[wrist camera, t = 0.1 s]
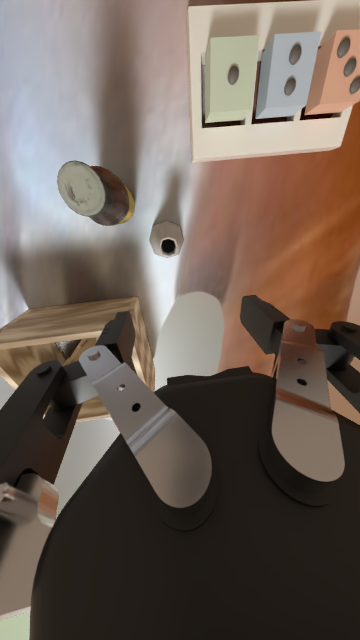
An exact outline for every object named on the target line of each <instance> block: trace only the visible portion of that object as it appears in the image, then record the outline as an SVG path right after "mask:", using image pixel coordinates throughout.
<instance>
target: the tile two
mask: <svg viewBox="0 0 360 640" xmlns="http://www.w3.org/2000/svg"><path fill="white" fill-rule="evenodd" d="M320 36H321V32H304V33H286V34H274V36H273V38H272V39H271V41H270V42H269V44H268V46H267V47H266V49H265V50H264V52H263V54H262V59H261V69H260V79H259V88H258V98H257V108H256V118H255V119H261V118H274V117H286V116H293V115H294V114H295V113H297V112H298V111H299V110H301V109H302V108H303V107H305V106H306V104H307V100H308V95H309V90H310V85H311V80H312V75H313V70H314V65H315V60H316V55H317V51H318V46H319V41H320Z"/></svg>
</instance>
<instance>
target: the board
mask: <svg viewBox="0 0 360 640" xmlns="http://www.w3.org/2000/svg"><path fill="white" fill-rule="evenodd" d="M356 29H360V0H310V1H290V2H269V3H249V4H228V5H208V6H188V12H187V20H186V33H187V59H188V86H189V112H190V138H191V163H194V162H205V161H217V160H228V159H239V158H250V157H262V156H273V155H284V154H295V153H306V152H318V151H329V150H333V149H335V148H338V147H340V146H341V143H342V140H343V136H344V133H345V130H346V126H347V123H348V120H349V116H350V113H351V110H352V106H353V105H352V106H350V107H348V108H347V109H345V110H343V111H341V112H337V113H333V114H332V118H325V119H313V120H300V116H301V110H302V109H301V110H299V111H298V112H297V113H295V114H294V115H293V116H287V121H286V122H276V123H263V124H251V122H252V111H253V104H252V110H251V111H250V112H249V113H248V115H247V116H246V117H245V118H244V119H243V120H241V124H240V125H238V126H226V127H213V128H202V107H201V65H205V56H206V52H207V49H208V45H209V42H210V38H216V37H234V36H251V35H259V39H258V50H257V60H256V69H257V61H261V59H262V54H263V52H264V50H265V49H266V47H267V46H268V44H269V42H270V41H271V39H272V38H273V36H274V34H286V33H304V32H321V36H320V41H319V46H318V50H319V49H320V48H321V47H322V46H323V45H324V44H325V43H326V41H327V40H328V39H329V38H330V37H331V36H332V35H333V34H334V33H335V32H336V31H339V30H356ZM316 56H317V55H316ZM255 79H256V71H255ZM254 90H255V82H254ZM253 101H254V93H253Z"/></svg>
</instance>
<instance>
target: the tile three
mask: <svg viewBox="0 0 360 640" xmlns="http://www.w3.org/2000/svg"><path fill="white" fill-rule="evenodd" d="M359 100H360V29H356V30H339V31H336V32H335V33H334V34H333V35H332V36H331V37H330V38H329V39H328V40H327V41H326V43H325V44H324V45H323V46H322V47H321V48H320V49H319V50H318V51H317V56H316V60H315V65H314V70H313V75H312V80H311V85H310V90H309V95H308V100H307V104H306V109H305V114H304V115H311V114H324V113H337V112H341V111H343V110H345V109H347V108H348V107H350V106H352V105H353V104H355V103H357V102H358V101H359Z"/></svg>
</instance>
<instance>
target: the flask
mask: <svg viewBox="0 0 360 640" xmlns="http://www.w3.org/2000/svg"><path fill="white" fill-rule="evenodd" d="M150 243H151V246H152V248H153V251H154V254H156V255H159V256H162V257H165V258H169V257H172V256H175V255H177V254H179V253H180V250H181V247H182V244H183V237H182V233H181V230H180V226H178V225H176V224H173V223H171V222H168V221H164V222H161V223H159V224H156V225H153V227H152V232H151V236H150Z"/></svg>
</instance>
